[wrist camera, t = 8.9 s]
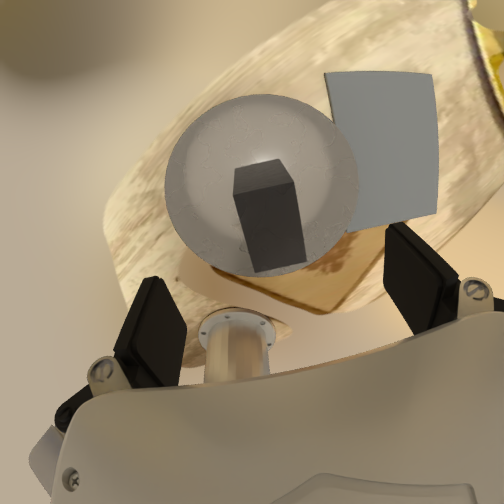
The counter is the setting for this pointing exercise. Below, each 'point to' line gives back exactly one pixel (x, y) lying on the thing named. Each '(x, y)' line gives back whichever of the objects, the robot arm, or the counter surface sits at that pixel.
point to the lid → (261, 185)
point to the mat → (388, 142)
